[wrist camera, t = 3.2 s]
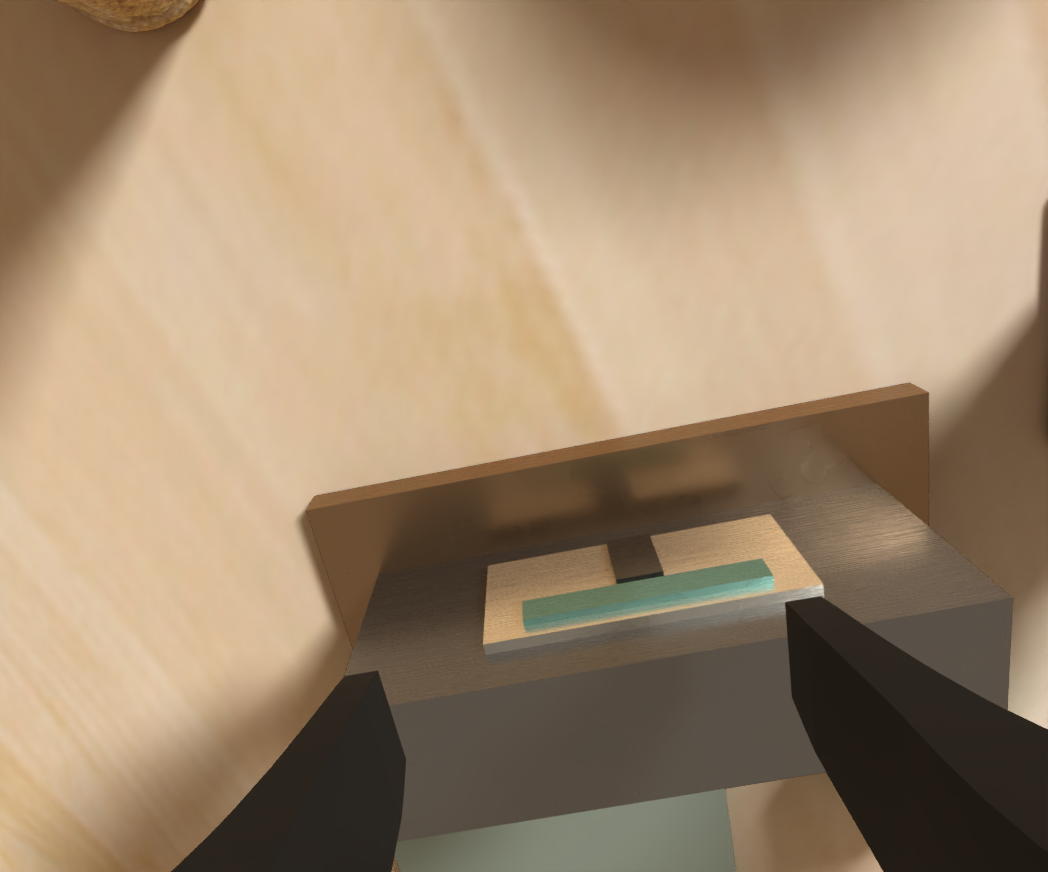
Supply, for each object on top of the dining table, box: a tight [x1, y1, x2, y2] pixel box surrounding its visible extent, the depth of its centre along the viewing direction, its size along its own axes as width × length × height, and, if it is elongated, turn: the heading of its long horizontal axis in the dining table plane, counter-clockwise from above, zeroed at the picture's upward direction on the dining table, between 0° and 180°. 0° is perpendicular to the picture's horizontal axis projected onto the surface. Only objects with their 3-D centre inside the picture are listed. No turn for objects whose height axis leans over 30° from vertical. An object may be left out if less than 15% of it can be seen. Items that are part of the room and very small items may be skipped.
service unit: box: [306, 383, 1013, 842], centre depth 19 cm, size 18×8×7 cm, turn 101°
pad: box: [394, 789, 736, 872], centre depth 26 cm, size 12×12×1 cm
